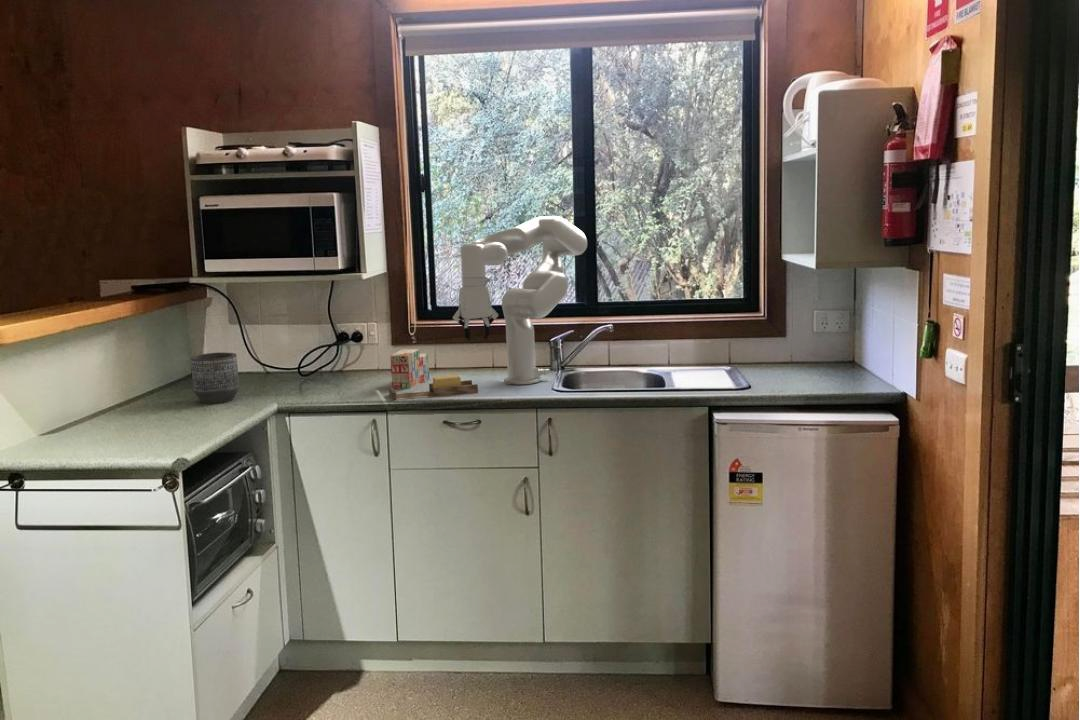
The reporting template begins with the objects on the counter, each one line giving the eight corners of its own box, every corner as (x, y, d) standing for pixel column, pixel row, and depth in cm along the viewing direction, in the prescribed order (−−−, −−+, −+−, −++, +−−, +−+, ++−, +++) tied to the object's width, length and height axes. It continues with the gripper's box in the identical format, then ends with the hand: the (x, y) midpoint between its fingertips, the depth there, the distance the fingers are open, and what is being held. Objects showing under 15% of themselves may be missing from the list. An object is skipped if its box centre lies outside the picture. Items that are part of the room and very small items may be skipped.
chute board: (471, 389, 311) (471, 379, 310) (478, 395, 302) (477, 384, 301) (389, 397, 303) (388, 387, 303) (393, 402, 294) (392, 392, 294)
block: (457, 389, 307) (457, 374, 306) (461, 392, 302) (460, 377, 301) (433, 392, 305) (432, 376, 304) (436, 394, 300) (435, 379, 299)
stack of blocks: (412, 379, 334) (410, 345, 332) (429, 379, 333) (427, 344, 331) (392, 391, 314) (389, 354, 312) (410, 391, 313) (408, 354, 311)
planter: (214, 407, 298) (209, 360, 295) (185, 403, 305) (180, 357, 303) (249, 398, 310) (245, 353, 307) (221, 395, 317) (217, 351, 315)
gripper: (497, 280, 307) (499, 336, 310) (445, 283, 302) (448, 339, 305) (503, 282, 300) (505, 338, 303) (450, 285, 295) (453, 342, 298)
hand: (476, 338), depth 304 cm, fingers open, 5 cm apart
